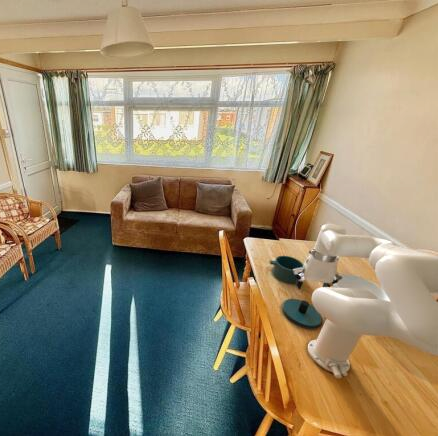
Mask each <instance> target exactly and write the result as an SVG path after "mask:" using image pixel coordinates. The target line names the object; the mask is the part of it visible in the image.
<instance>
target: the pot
mask: <svg viewBox="0 0 438 436" xmlns="http://www.w3.org/2000/svg"><path fill="white" fill-rule="evenodd" d="M269 264H270V265H273V267H272V270H271V274H272V276H273V277H274V278H275V279H277V280H278V281H280V282H282V283H285V284H288V285H289V284H290V285H296V281H297V278H296V277H295V275H294V272H293V269H296V268H300V267H303V265H304V263H303V262H302V261H301V260H300V259H297V258H295V257H293V256H290V255H278V256H276V257H275V259H274V260H271V259H270V260H269ZM299 274H301V272H298V275H299Z"/></svg>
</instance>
